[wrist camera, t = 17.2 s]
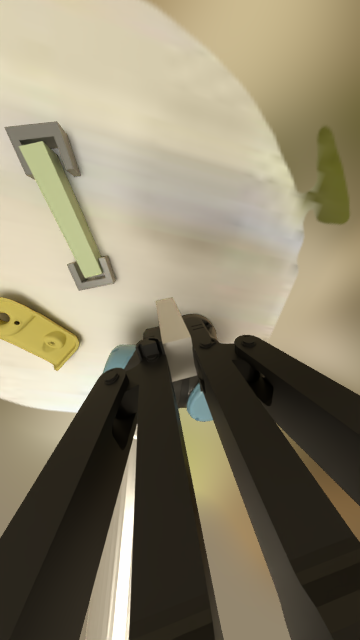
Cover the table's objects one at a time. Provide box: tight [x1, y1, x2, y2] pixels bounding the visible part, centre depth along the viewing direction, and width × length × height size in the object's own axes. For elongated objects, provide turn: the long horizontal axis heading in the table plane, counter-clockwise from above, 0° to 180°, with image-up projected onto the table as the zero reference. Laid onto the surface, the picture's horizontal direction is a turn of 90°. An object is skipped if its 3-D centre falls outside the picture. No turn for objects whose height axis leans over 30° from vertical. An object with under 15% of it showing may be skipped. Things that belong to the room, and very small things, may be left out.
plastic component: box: [0, 297, 79, 371], centre depth 39 cm, size 20×7×10 cm
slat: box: [19, 141, 103, 278], centre depth 32 cm, size 20×4×5 cm, turn 13°
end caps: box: [5, 121, 116, 291], centre depth 32 cm, size 25×7×4 cm, turn 9°
